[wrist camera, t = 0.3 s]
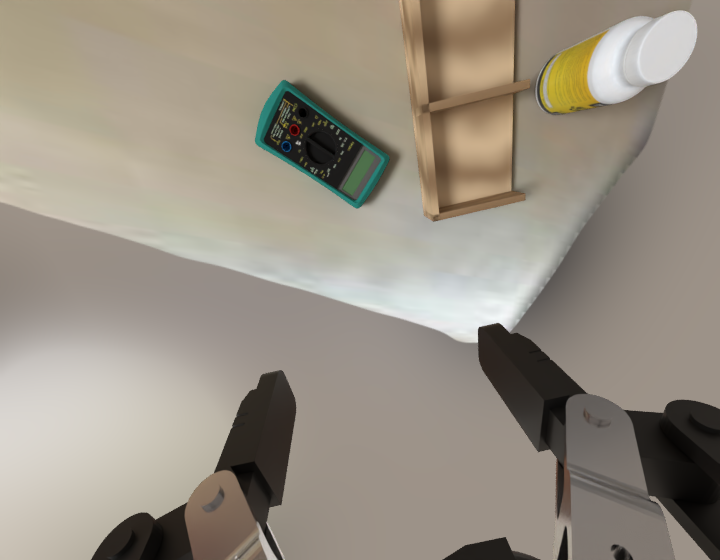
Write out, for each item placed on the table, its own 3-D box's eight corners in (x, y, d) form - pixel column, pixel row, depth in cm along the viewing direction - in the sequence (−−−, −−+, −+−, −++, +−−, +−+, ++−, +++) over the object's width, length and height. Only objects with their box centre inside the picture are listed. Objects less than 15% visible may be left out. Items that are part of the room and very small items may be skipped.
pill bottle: (529, 119, 34) (617, 102, 23) (535, 55, 31) (638, 1, 20) (581, 111, 34) (692, 89, 23) (591, 45, 31) (723, -13, 20)
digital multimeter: (282, 79, 30) (276, 72, 28) (389, 158, 35) (393, 158, 32) (254, 141, 33) (247, 140, 30) (358, 207, 37) (360, 211, 34)
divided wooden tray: (396, -23, 27) (405, -51, 24) (510, -52, 27) (536, -85, 23) (424, 215, 37) (433, 221, 34) (506, 195, 37) (525, 200, 34)
